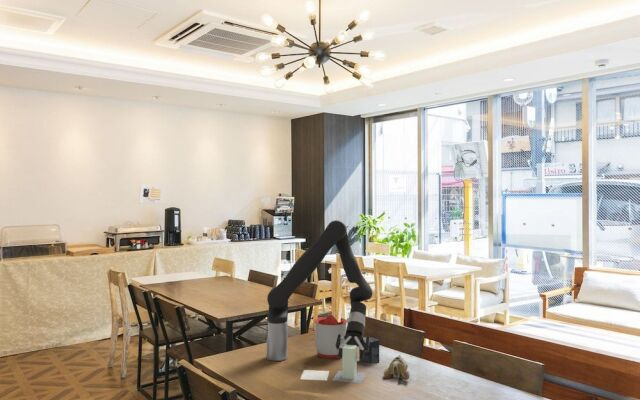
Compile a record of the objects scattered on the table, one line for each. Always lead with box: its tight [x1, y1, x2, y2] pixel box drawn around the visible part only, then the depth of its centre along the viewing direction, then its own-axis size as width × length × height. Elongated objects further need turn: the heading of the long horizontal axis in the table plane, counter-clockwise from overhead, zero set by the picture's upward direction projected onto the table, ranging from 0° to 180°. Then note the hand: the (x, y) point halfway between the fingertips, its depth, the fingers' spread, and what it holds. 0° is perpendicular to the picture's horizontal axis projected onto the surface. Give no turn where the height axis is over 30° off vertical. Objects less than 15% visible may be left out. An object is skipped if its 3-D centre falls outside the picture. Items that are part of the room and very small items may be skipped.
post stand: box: [332, 370, 367, 384], centre depth 204 cm, size 12×12×6 cm
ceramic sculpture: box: [383, 354, 410, 381], centre depth 206 cm, size 11×9×15 cm
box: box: [358, 336, 380, 364], centre depth 226 cm, size 8×6×11 cm
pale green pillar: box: [341, 345, 358, 379], centre depth 204 cm, size 5×5×12 cm
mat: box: [300, 369, 330, 382], centre depth 205 cm, size 11×11×1 cm
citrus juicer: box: [314, 314, 348, 360], centre depth 235 cm, size 16×17×20 cm
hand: (350, 359), depth 205 cm, fingers open, 8 cm apart
